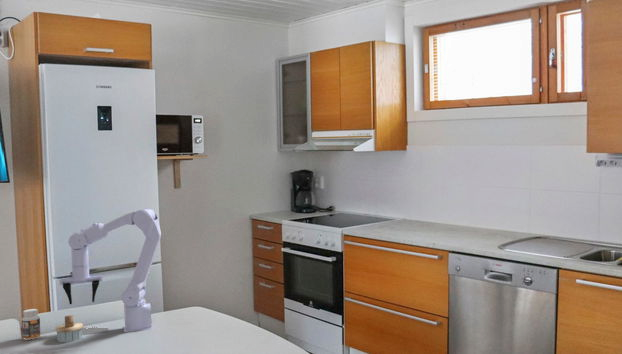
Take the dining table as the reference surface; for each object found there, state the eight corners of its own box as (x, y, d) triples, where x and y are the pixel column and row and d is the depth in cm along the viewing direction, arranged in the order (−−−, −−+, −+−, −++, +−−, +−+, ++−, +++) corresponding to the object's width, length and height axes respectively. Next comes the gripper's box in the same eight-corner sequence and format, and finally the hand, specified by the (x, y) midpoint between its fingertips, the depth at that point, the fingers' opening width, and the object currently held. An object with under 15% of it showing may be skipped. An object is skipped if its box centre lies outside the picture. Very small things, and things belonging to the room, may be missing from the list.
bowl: (82, 335, 214) (82, 324, 214) (81, 341, 206) (81, 330, 206) (58, 338, 211) (57, 327, 211) (56, 344, 204) (56, 333, 204)
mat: (107, 326, 225) (107, 325, 225) (108, 332, 216) (108, 331, 216) (79, 329, 222) (79, 328, 222) (78, 336, 212) (78, 335, 212)
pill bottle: (33, 341, 209) (32, 312, 209) (19, 340, 210) (17, 312, 210) (44, 336, 214) (42, 308, 214) (29, 335, 216) (28, 308, 215)
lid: (84, 324, 214) (83, 312, 214) (82, 330, 206) (82, 317, 206) (56, 326, 212) (56, 314, 212) (54, 333, 203) (53, 320, 203)
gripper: (101, 262, 225) (103, 298, 225) (59, 265, 221) (61, 302, 221) (101, 264, 219) (103, 302, 219) (58, 268, 214) (60, 306, 214)
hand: (82, 302), depth 219 cm, fingers open, 7 cm apart
